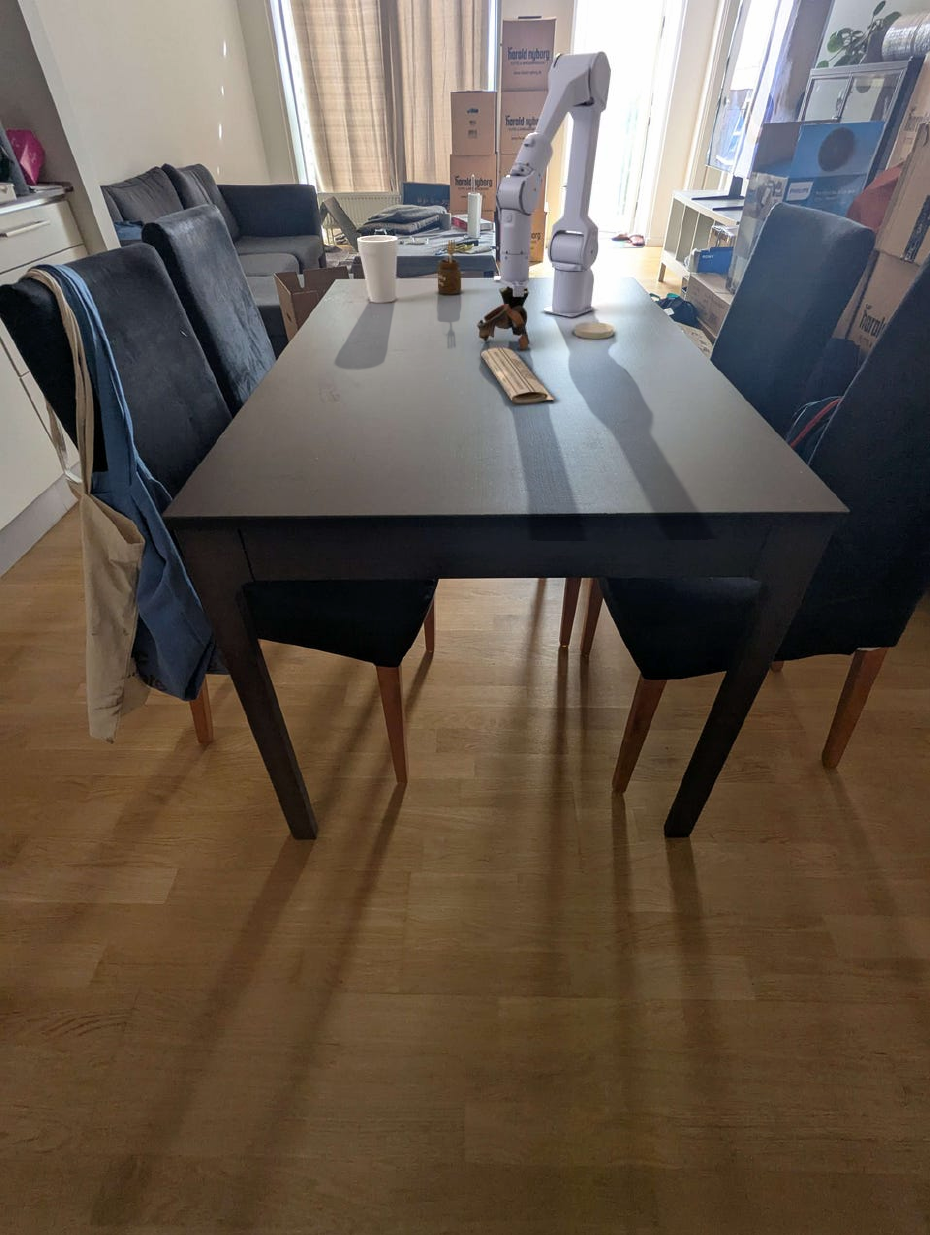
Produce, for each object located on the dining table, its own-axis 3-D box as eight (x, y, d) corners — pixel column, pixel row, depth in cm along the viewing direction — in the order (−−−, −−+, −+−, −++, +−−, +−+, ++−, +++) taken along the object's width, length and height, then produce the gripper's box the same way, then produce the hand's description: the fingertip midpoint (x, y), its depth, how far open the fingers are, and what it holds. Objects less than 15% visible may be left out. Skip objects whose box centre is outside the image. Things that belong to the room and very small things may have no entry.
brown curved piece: (520, 357, 117) (499, 317, 113) (485, 371, 124) (463, 333, 120) (547, 325, 123) (528, 286, 119) (512, 339, 130) (492, 303, 125)
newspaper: (481, 358, 116) (481, 348, 115) (517, 355, 117) (518, 346, 116) (511, 404, 98) (512, 393, 97) (554, 400, 99) (554, 389, 98)
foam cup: (409, 298, 153) (405, 237, 144) (386, 306, 147) (380, 243, 138) (379, 293, 157) (373, 234, 148) (355, 301, 151) (348, 239, 142)
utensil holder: (457, 288, 160) (456, 235, 152) (464, 294, 155) (463, 239, 147) (435, 290, 159) (433, 236, 151) (441, 296, 154) (439, 240, 146)
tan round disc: (587, 325, 132) (588, 319, 131) (620, 332, 128) (621, 326, 127) (566, 334, 127) (567, 328, 127) (599, 341, 123) (600, 335, 123)
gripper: (491, 245, 124) (489, 318, 132) (498, 259, 112) (496, 337, 121) (525, 244, 124) (522, 317, 133) (536, 258, 113) (532, 336, 121)
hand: (512, 327), depth 127 cm, fingers closed
